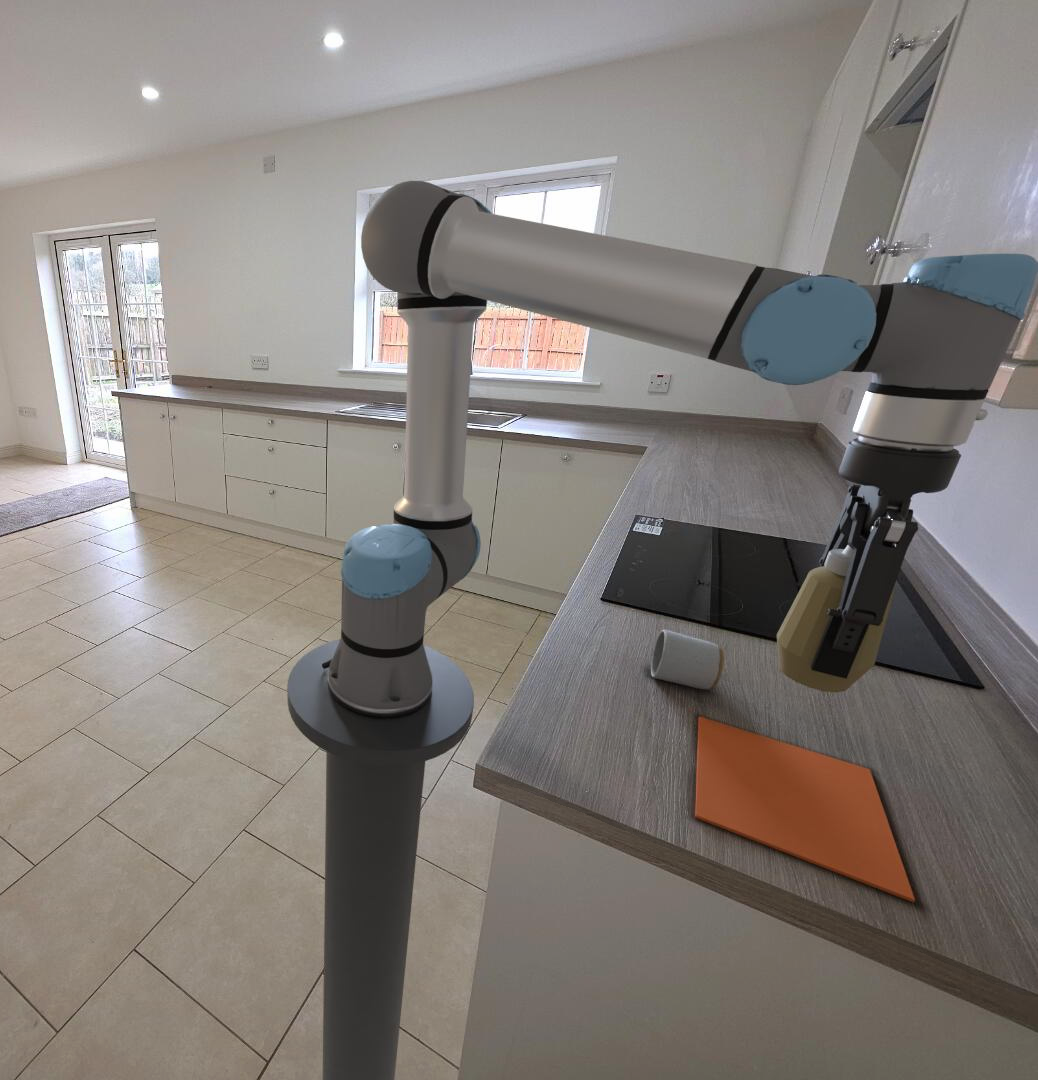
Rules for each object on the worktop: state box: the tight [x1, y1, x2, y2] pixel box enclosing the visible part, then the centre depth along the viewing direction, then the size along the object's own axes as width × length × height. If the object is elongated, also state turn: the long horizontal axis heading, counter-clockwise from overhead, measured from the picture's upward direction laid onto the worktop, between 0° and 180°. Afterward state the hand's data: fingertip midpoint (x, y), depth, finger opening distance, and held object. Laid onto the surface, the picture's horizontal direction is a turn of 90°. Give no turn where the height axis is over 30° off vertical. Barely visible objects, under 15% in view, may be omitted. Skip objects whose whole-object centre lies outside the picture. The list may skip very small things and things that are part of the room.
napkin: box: [694, 715, 916, 903], centre depth 67 cm, size 18×20×1 cm
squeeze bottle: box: [776, 539, 895, 694], centre depth 58 cm, size 8×8×18 cm
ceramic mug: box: [650, 629, 725, 690], centre depth 87 cm, size 11×8×8 cm
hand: (821, 652), depth 60 cm, fingers closed on squeeze bottle, 8 cm apart
